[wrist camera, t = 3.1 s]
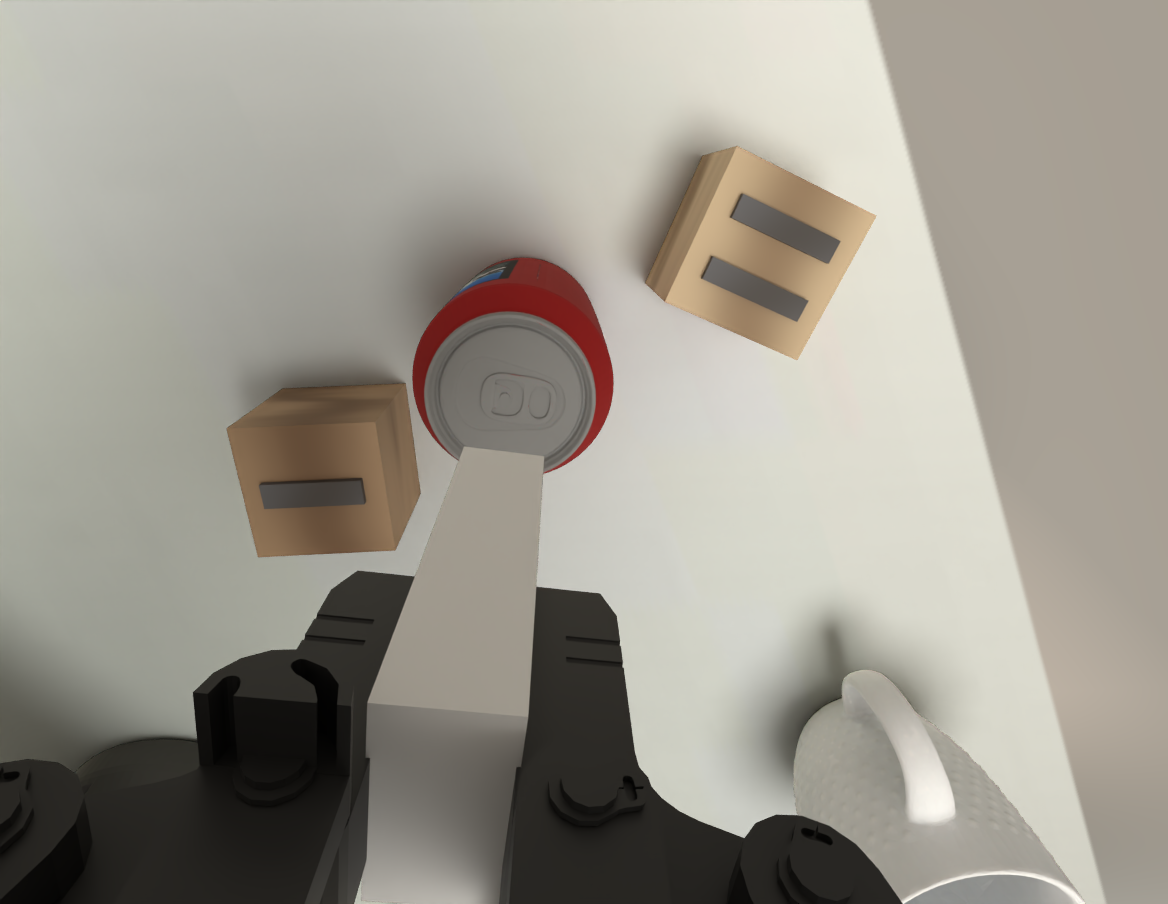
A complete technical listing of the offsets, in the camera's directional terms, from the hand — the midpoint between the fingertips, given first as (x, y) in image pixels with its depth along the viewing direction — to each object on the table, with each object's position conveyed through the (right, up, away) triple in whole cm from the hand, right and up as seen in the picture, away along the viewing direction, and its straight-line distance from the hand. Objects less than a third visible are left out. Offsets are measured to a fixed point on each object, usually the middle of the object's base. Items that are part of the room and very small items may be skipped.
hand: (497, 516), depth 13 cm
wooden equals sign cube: (+8, +11, +18) cm, 23 cm away
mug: (+18, -16, +29) cm, 38 cm away
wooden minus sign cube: (-10, +2, +21) cm, 23 cm away
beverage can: (-1, +7, +19) cm, 21 cm away
